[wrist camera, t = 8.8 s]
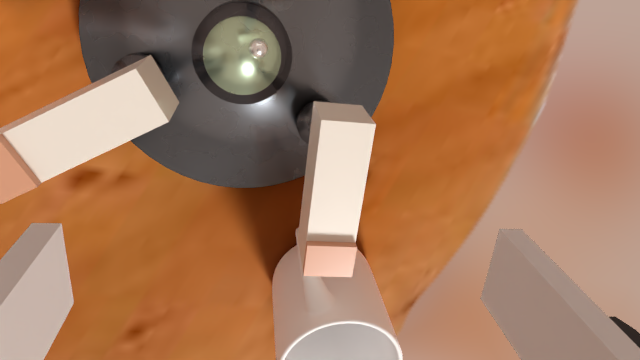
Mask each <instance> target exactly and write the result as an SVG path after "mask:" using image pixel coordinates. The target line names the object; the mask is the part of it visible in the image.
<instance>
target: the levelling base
mask: <svg viewBox="0 0 640 360" xmlns="http://www.w3.org/2000/svg"><path fill="white" fill-rule="evenodd" d="M79 34H80V41H81V48H82V54H83V58H84V61H85V65H86V68H87V72H88V75H89V78H90V80H91V82H92V83H94V82H96V81H98V80H100V79H102V78H104V77H106V76H108V75H110V74H112V73H114V72H116V71H119V70H121V69H123V68H125V67H127V66H129V65H131V64H133V63H135V62H137V61H139V60H141V59H143V58H145V57H147V56H149V55H151V56H152V57H153V59H154V61H155V62H156V64H157V66H158V67H159V69H160V71H161V72H162V74H163V76H164V77H165V79H166V81H167V82H168V84H169V86H170V87H171V89H172V91H173V92H174V94H175V96H176V97H177V99H178V101H179V104H178V106H177V108H176V110H175V111H174V113H173V115H172V117H171V119H170V121H169V122H168V123H166V124H163V125H161V126H159V127H157V128H155V129H153V130H151V131H149V132H147V133H145V134H142V135H140V136H138V137H136V138H134V139H132V140H131V141H132V142H133V144H135V145H136V146H137V147H138V148H140V149H141V150H142V151H143V152H144V153H146V154H147V155H148V156H149V157H151V158H152V159H154V160H155V161H157V162H159V163H160V164H162V165H163V166H165V167H167V168H169V169H171V170H173V171H175V172H177V173H179V174H181V175H183V176H186V177H189V178H192V179H194V180H197V181H200V182H204V183H208V184H213V185H217V186H225V187H234V188H256V187H264V186H272V185H276V184H280V183H284V182H288V181H291V180H294V179H296V178H299V177H302V176H304V175H305V171H306V162H307V154H308V145H309V136H310V129H309V124H310V122H311V119H312V110H313V102H314V101H317V102H329V103H340V104H352V105H362V106H363V107H364V109H365V110H366V112H367V113H368V114H369V116H370V117H372V115H373V113H374V111H375V109H376V107H377V105H378V104H379V102H380V100H381V97H382V94H383V92H384V89H385V86H386V84H387V80H388V76H389V72H390V68H391V63H392V54H393V45H394V28H393V17H392V9H391V3H390V0H80V5H79Z"/></svg>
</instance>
